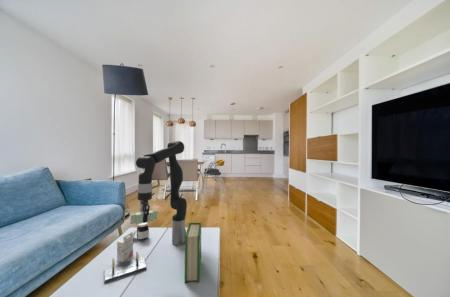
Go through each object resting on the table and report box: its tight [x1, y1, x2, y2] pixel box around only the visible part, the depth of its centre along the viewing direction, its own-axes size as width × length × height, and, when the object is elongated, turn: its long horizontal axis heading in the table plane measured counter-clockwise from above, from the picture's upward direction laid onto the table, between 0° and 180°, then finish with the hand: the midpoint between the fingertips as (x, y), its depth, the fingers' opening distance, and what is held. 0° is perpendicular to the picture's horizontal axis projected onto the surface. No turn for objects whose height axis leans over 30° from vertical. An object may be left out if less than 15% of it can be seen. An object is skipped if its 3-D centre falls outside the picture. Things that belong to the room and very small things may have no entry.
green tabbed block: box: [130, 210, 158, 225], centre depth 105 cm, size 14×4×5 cm, turn 125°
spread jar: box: [133, 222, 150, 241], centre depth 141 cm, size 12×11×12 cm
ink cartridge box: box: [116, 231, 134, 262], centre depth 116 cm, size 9×5×15 cm, turn 168°
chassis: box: [103, 251, 147, 284], centre depth 104 cm, size 20×12×8 cm, turn 124°
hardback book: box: [184, 222, 202, 284], centre depth 103 cm, size 18×7×24 cm, turn 4°
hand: (144, 220), depth 105 cm, fingers closed on green tabbed block, 4 cm apart
